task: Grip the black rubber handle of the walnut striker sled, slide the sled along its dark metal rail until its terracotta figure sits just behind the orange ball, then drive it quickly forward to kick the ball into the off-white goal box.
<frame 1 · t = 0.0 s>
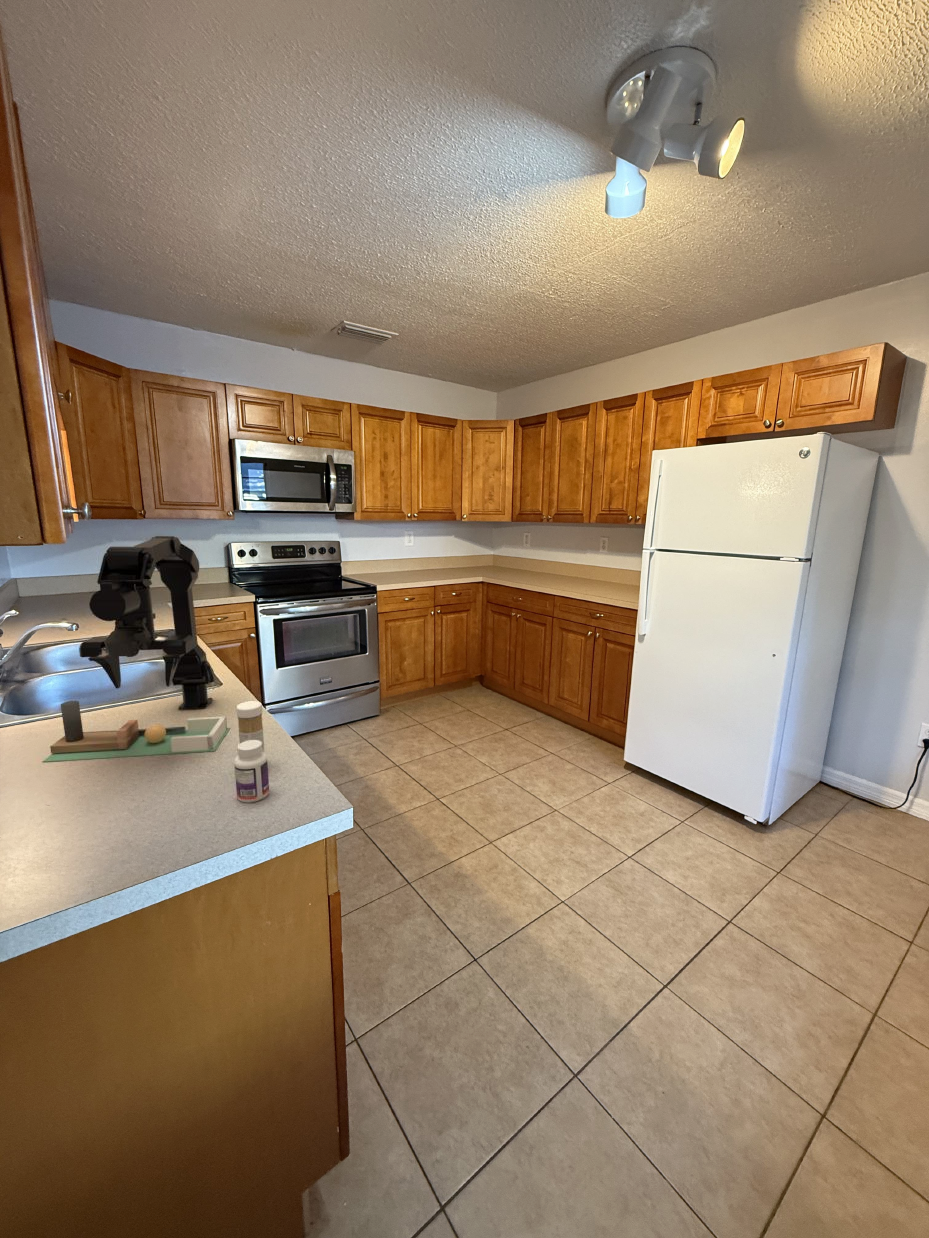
hand: (143, 686, 101), 15 cm above the countertop, tool pointing down, fingers open, 9 cm apart
sprinkles bottle: (253, 769, 99), on the countertop
foosball: (155, 733, 108), point 2 cm above the countertop, touching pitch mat
pill bottle: (253, 796, 89), on the countertop
guide rail: (128, 737, 111), resting on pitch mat
goal box: (201, 740, 110), resting on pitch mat
striker sled: (94, 723, 105), point 5 cm above the countertop, slide at 0.0 cm
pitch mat: (143, 743, 108), on the countertop
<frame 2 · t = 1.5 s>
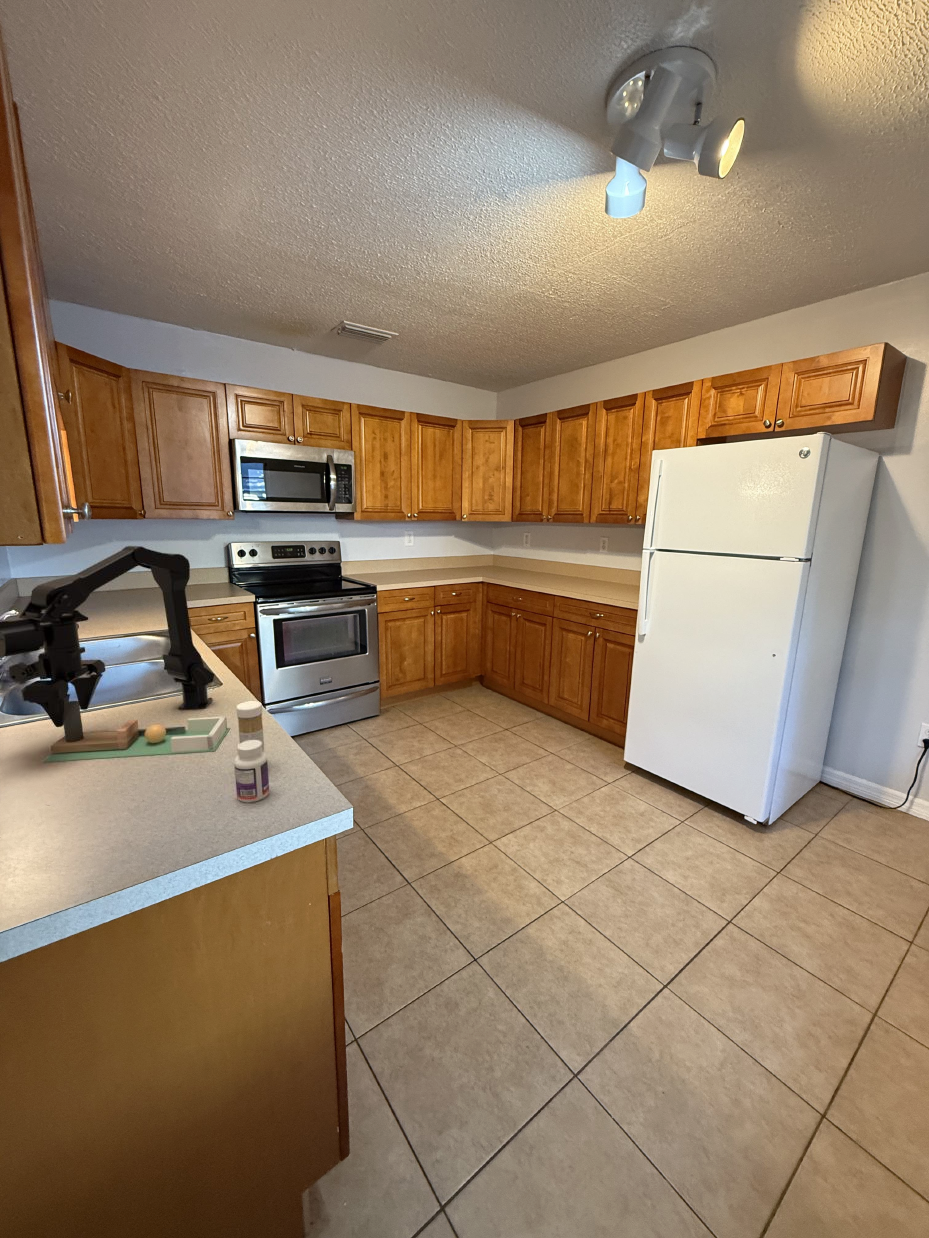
hand: (72, 717, 104), 7 cm above the countertop, tool pointing down, fingers open, 9 cm apart
nothing on the countertop moved.
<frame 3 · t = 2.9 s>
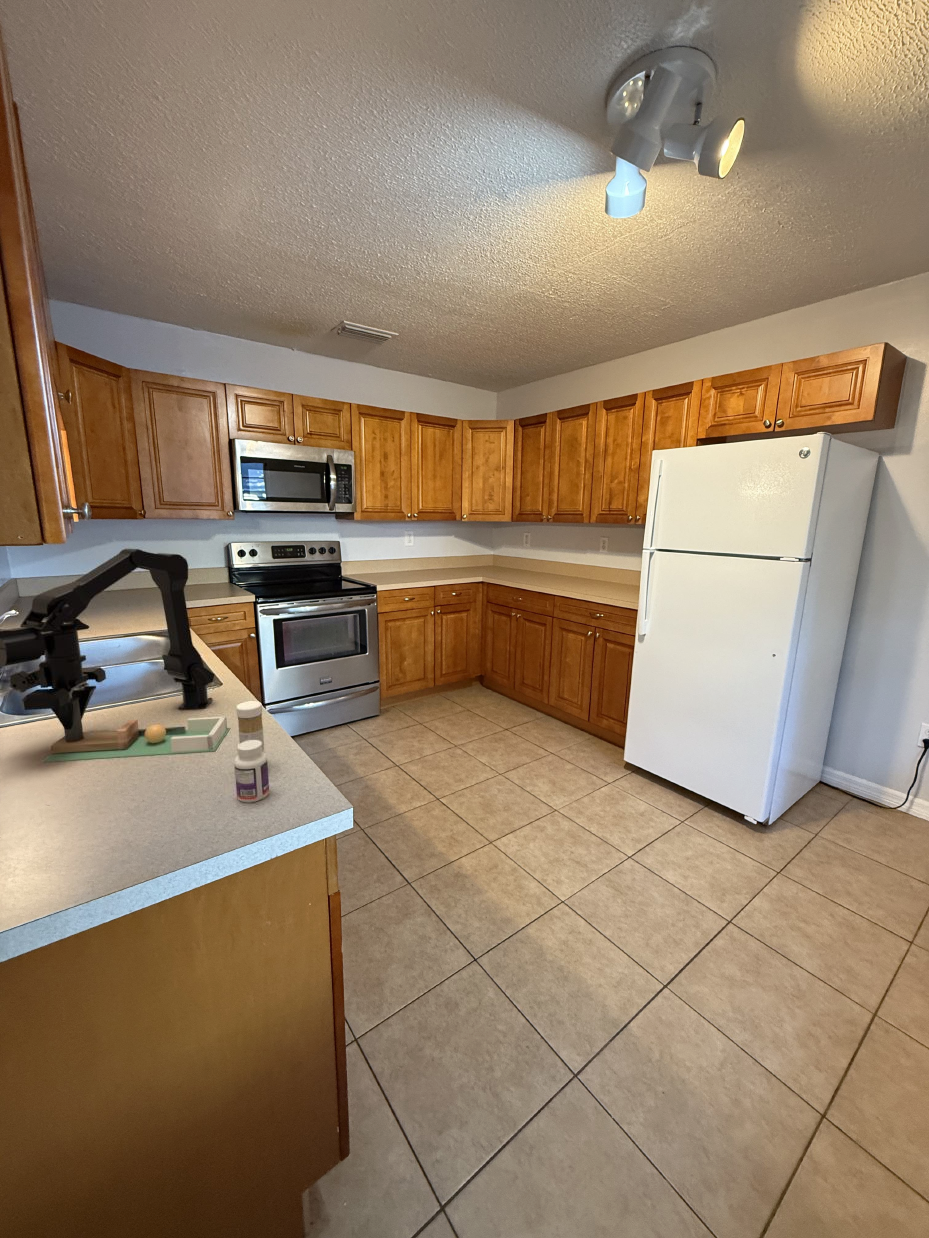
hand: (73, 725, 105), 5 cm above the countertop, tool pointing down, fingers closed on striker sled, 3 cm apart
striker sled: (94, 723, 105), point 5 cm above the countertop, slide at 0.0 cm, touching gripper
everything else where it was.
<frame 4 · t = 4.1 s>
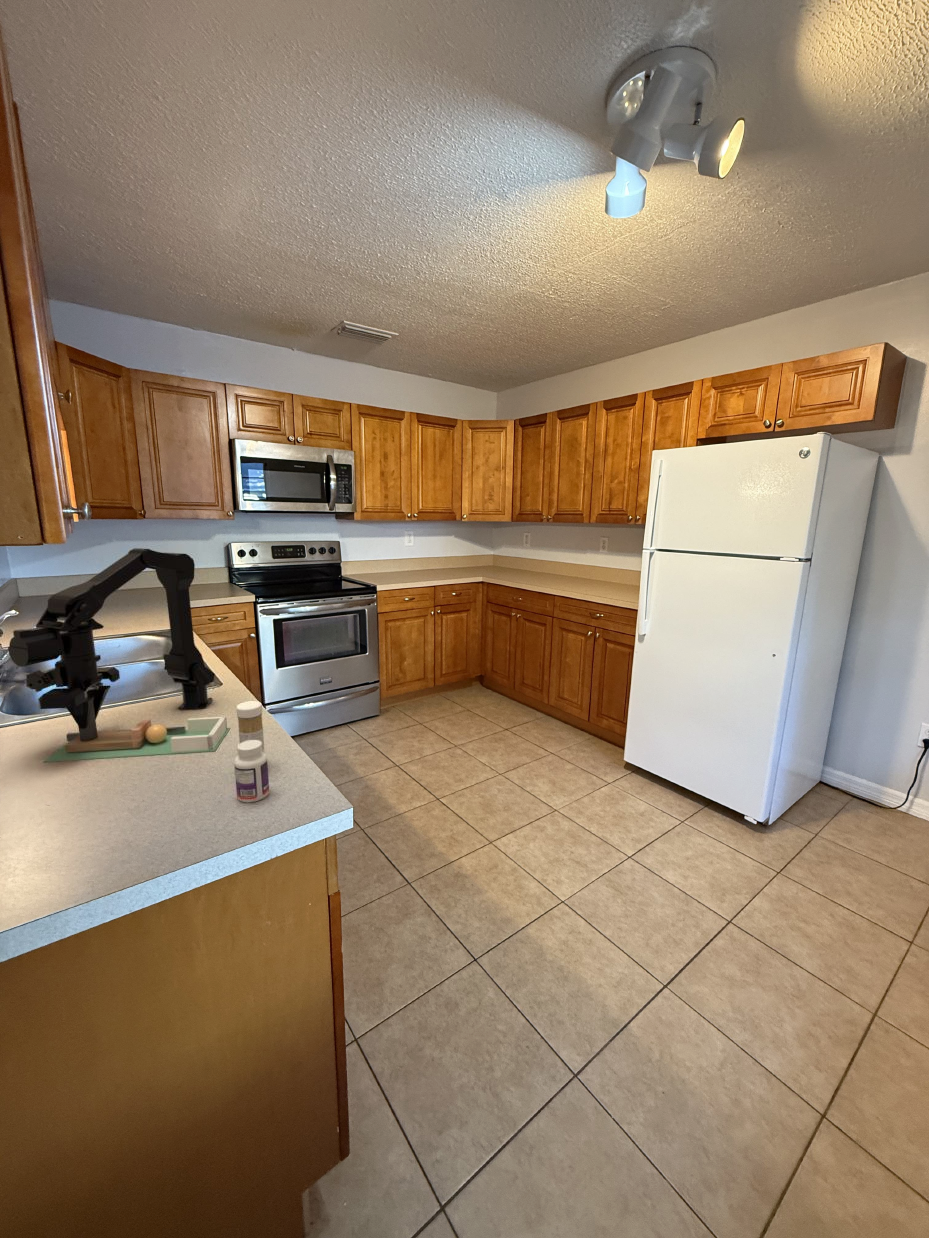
hand: (87, 725, 105), 5 cm above the countertop, tool pointing down, fingers closed on striker sled, 3 cm apart
striker sled: (108, 722, 106), point 5 cm above the countertop, slide at 2.7 cm, touching gripper
everything else where it was.
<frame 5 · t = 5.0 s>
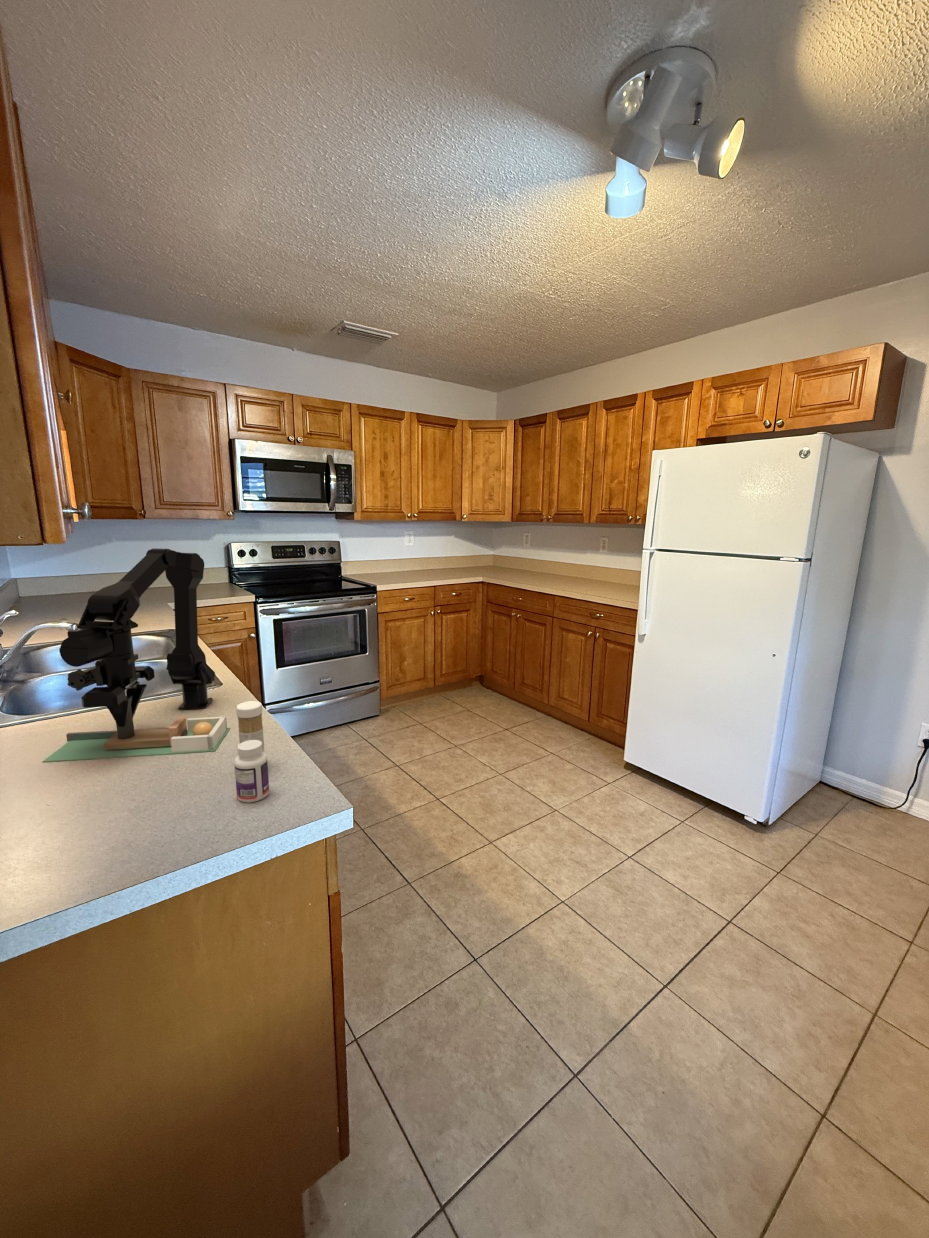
hand: (125, 723, 107), 5 cm above the countertop, tool pointing down, fingers closed on striker sled, 3 cm apart
foosball: (203, 731, 110), point 2 cm above the countertop, tilted 90°, touching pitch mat
striker sled: (145, 721, 107), point 5 cm above the countertop, slide at 9.8 cm, touching gripper
everything else where it was.
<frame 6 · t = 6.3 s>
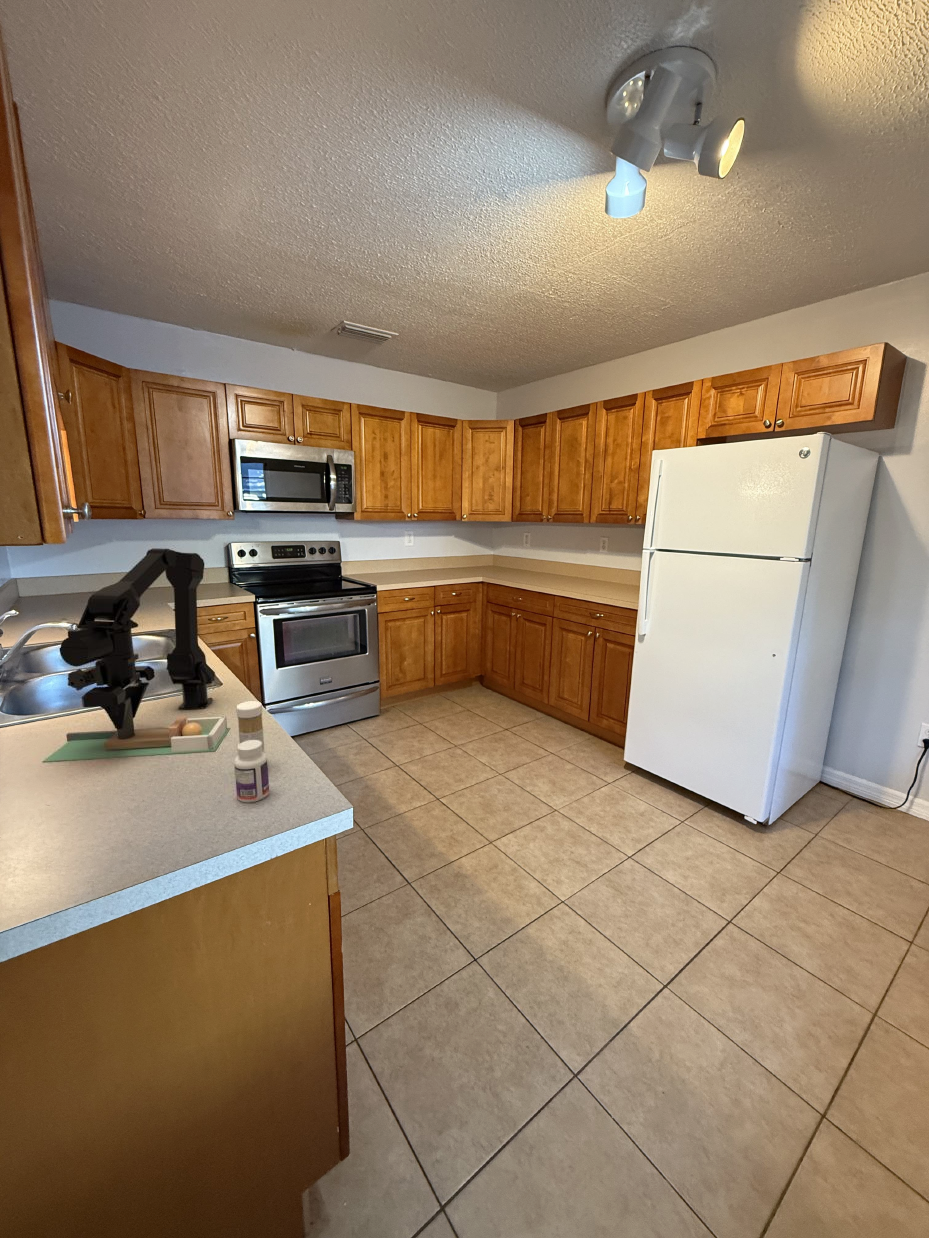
hand: (125, 723, 107), 5 cm above the countertop, tool pointing down, fingers open, 5 cm apart
foosball: (192, 731, 110), point 2 cm above the countertop, tilted 153°, touching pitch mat
striker sled: (145, 721, 107), point 5 cm above the countertop, slide at 9.8 cm
everything else where it was.
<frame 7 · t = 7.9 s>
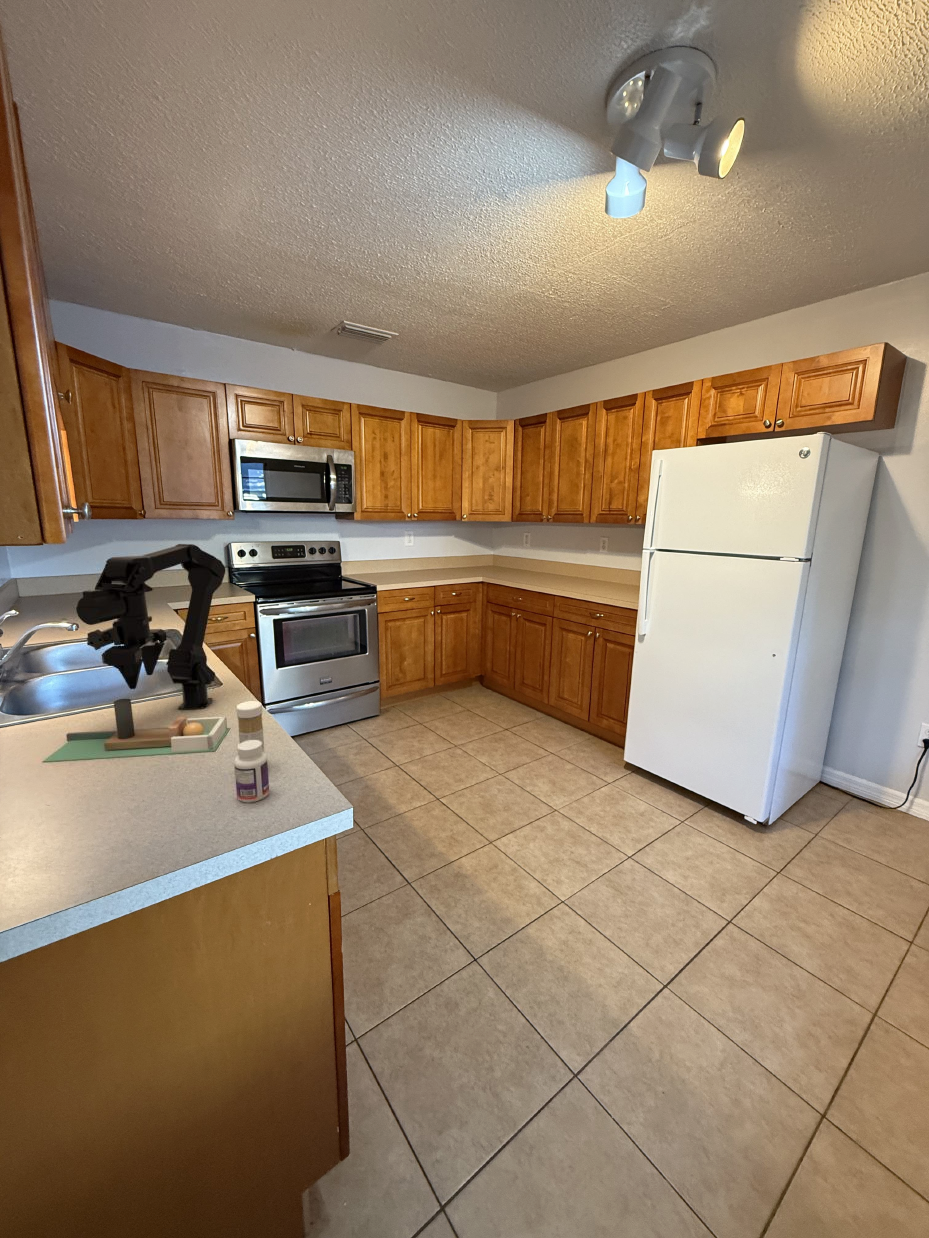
hand: (141, 681, 113), 12 cm above the countertop, tool pointing down, fingers open, 9 cm apart
foosball: (193, 731, 110), point 2 cm above the countertop, tilted 145°, touching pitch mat
everything else where it was.
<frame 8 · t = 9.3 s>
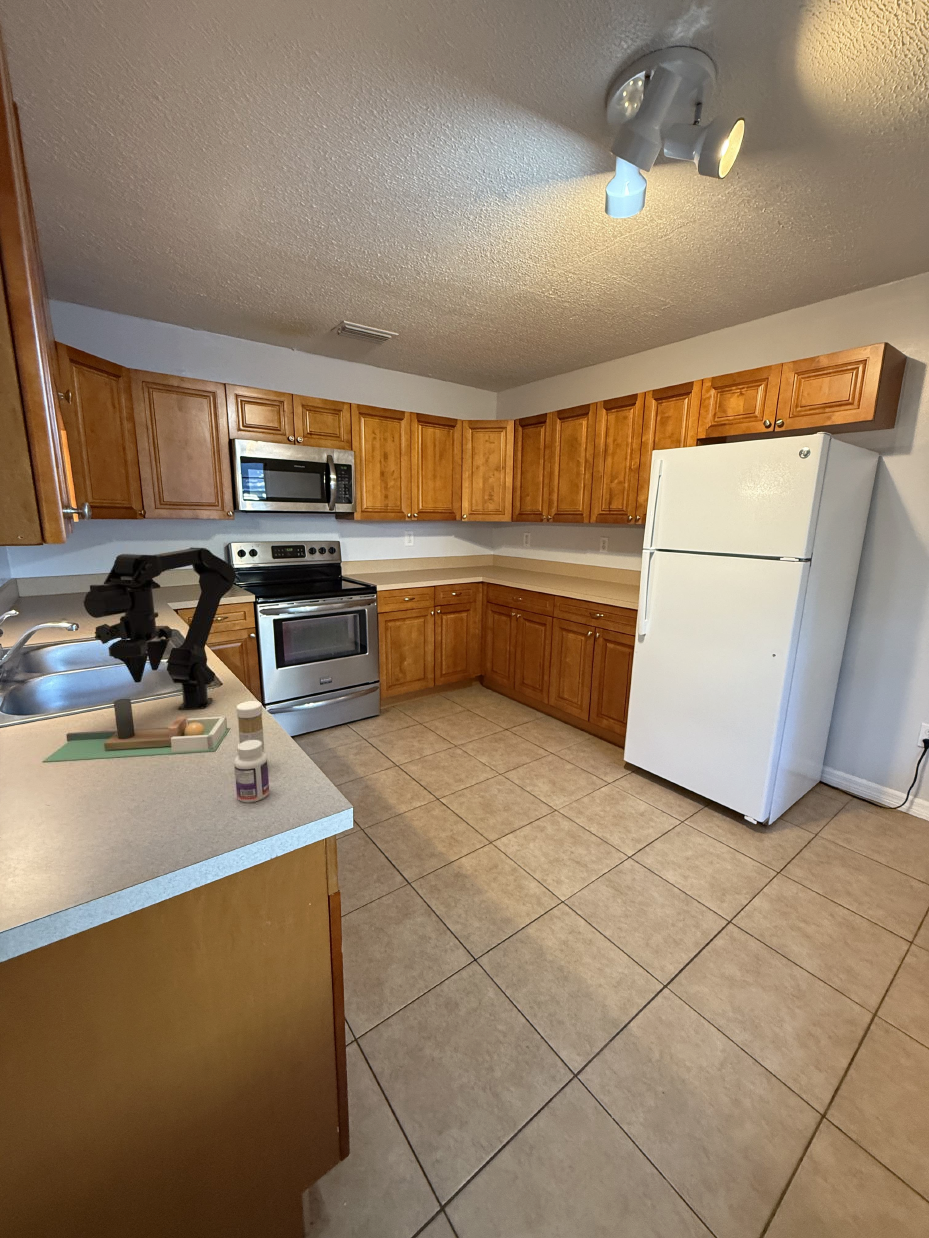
hand: (146, 676, 116), 12 cm above the countertop, tool pointing down, fingers open, 9 cm apart
foosball: (194, 731, 110), point 2 cm above the countertop, tilted 139°, touching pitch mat
everything else where it was.
at the end: foosball inside the target area (1.3 cm from its centre), point 2.2 cm above the countertop; striker sled slide at 9.8 cm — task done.
